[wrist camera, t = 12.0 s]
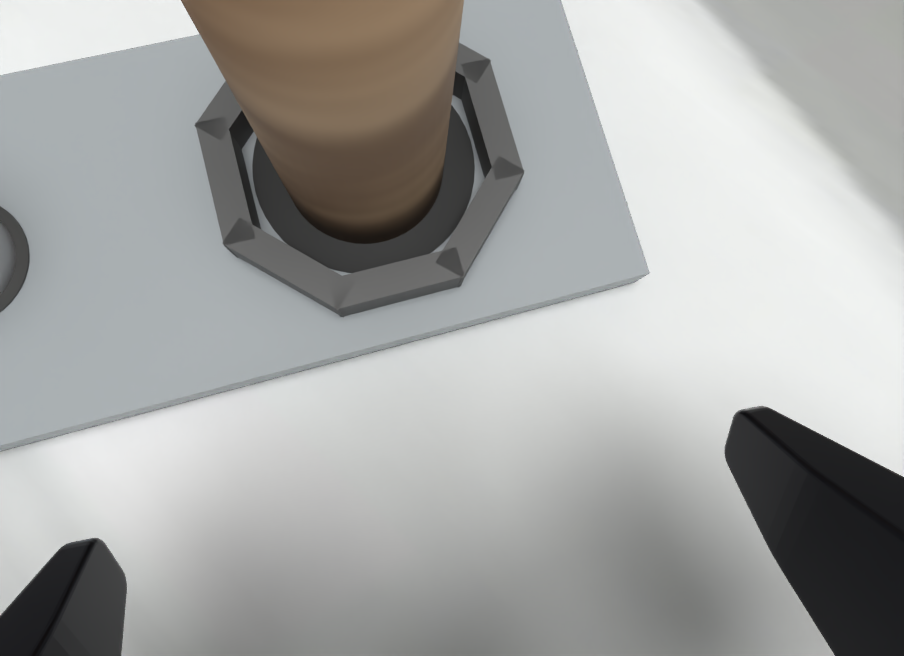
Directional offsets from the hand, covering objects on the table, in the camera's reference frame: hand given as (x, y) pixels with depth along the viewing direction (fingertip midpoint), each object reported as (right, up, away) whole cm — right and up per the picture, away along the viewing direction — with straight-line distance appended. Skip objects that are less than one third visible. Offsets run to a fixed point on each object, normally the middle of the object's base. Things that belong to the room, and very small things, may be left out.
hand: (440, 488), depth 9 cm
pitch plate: (-5, +6, +9) cm, 12 cm away
